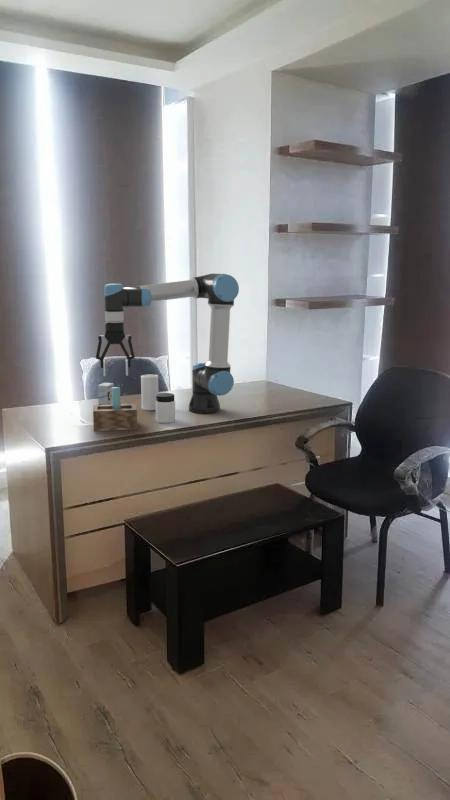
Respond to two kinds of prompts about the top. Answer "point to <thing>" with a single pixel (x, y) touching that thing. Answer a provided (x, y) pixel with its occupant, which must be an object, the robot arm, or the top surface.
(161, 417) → the jar
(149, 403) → the cup
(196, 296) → the robot arm
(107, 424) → the socket
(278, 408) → the top surface
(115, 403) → the peg
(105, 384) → the ink box
